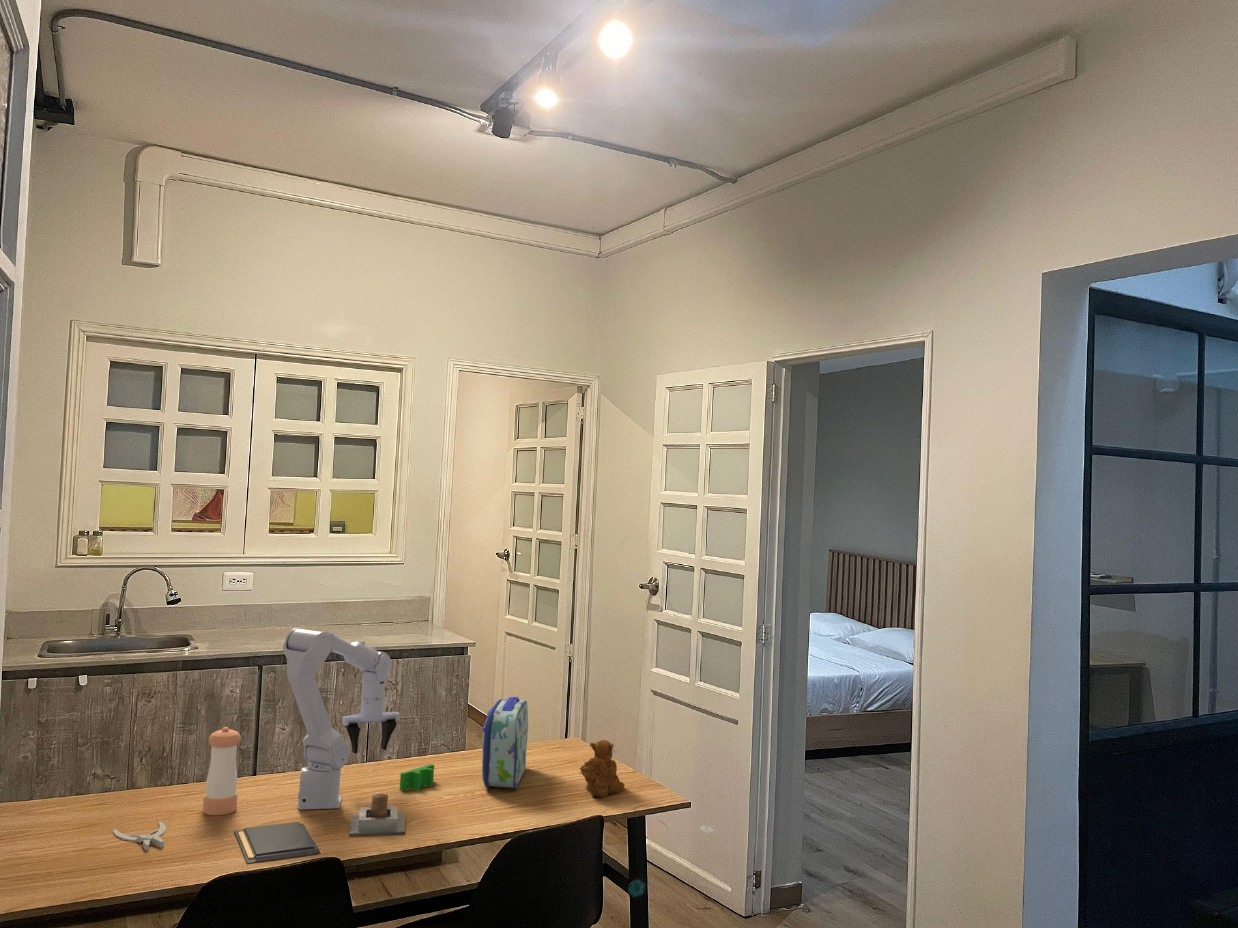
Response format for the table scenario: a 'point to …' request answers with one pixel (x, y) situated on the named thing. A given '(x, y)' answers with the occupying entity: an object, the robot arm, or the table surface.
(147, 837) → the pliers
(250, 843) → the grey flat slab
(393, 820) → the mount
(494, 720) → the lunch box
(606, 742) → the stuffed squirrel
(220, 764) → the pepper shaker
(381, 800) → the cylinder
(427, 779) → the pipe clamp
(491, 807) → the table surface
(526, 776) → the table surface
